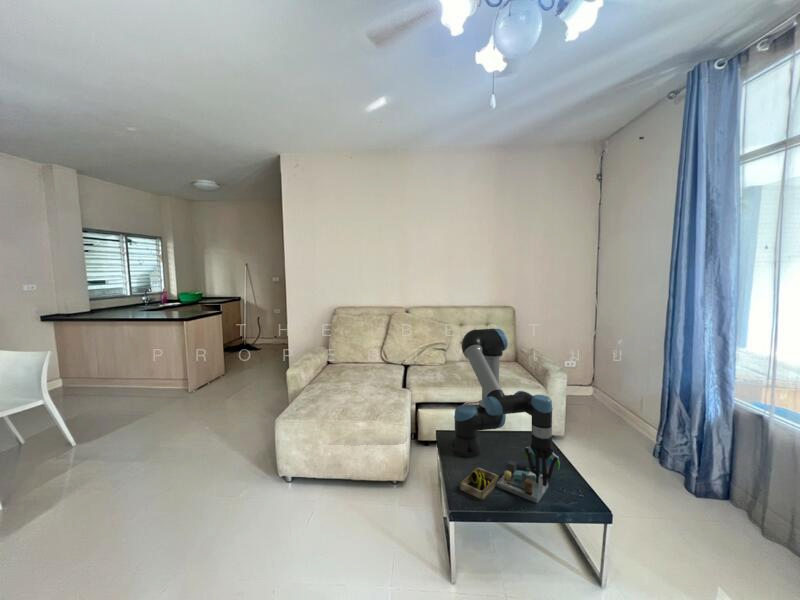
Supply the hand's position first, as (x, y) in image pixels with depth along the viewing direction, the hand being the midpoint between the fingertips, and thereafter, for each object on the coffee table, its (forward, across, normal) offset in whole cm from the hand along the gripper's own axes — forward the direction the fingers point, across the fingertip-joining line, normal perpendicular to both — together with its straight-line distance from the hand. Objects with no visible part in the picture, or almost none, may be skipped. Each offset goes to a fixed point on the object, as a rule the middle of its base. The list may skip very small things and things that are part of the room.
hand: (541, 491), depth 131 cm
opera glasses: (+4, -24, -7) cm, 25 cm away
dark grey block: (+1, -16, +9) cm, 18 cm away
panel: (+4, -9, +4) cm, 11 cm away
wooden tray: (+4, -24, -6) cm, 25 cm away
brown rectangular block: (+1, -5, 0) cm, 5 cm away
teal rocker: (-1, -8, +6) cm, 10 cm away
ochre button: (+2, -15, +3) cm, 16 cm away
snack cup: (+4, -7, +21) cm, 23 cm away
